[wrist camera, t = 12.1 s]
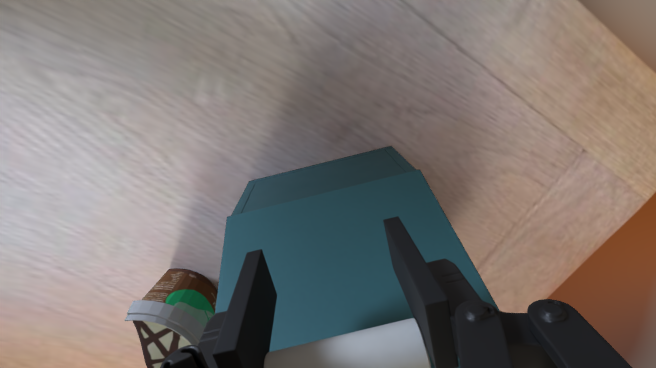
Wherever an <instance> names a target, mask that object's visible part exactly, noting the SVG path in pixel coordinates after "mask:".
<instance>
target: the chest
mask: <svg viewBox="0 0 656 368" xmlns="http://www.w3.org/2000/svg"><path fill="white" fill-rule="evenodd" d="M415 170H416V169H415V168H414V167H413V166H412V165H411V164H410V163H409V162H407V161H406V160H405V159H404V158H403V157H402V156H401V155H400V154H399V153H398V152H397V151H396V150H395V149H394V148H393V147H392V146H389V147H385V148H381V149H377V150H373V151H369V152H365V153H361V154H357V155H353V156H349V157H345V158H341V159H337V160H333V161H329V162H325V163H321V164H317V165H313V166H309V167H305V168H301V169H297V170H293V171H289V172H285V173H281V174H277V175H273V176H269V177H265V178H261V179H257V180H253V181H249V183H248V185H247V187H246V188H245V190H244V192H243V194H242V196H241V198H240V200H239V202H238V204H237V206H236V208H235V209H234V211H233V213H232V215H231V216H233V215H237V214H241V213H245V212H249V211H253V210H257V209H261V208H265V207H269V206H273V205H277V204H282V203H286V202H290V201H294V200H298V199H302V198H306V197H310V196H314V195H318V194H322V193H326V192H330V191H334V190H338V189H342V188H346V187H350V186H354V185H358V184H362V183H367V182H371V181H375V180H379V179H383V178H387V177H391V176H395V175H399V174H403V173H407V172H411V171H415Z"/></svg>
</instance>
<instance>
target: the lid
mask: <svg viewBox="0 0 656 368" xmlns="http://www.w3.org/2000/svg"><path fill="white" fill-rule="evenodd" d="M397 216H399V218H400V220H401V221H402V223H403V225H404V226H405V228H406V230H407V231H408V233H409V235H410V236H411V238H412V240H413V241H414V243H415V245H416V246H417V248H418V250H419V251H420V253H421V255H422V256H423V258H424V260H425V261H426V263H427V262H432V261H436V260H440V259H444V258H445V259H447V260H449V261H451V262H453V263H454V264H456V266H457V267H458V269H459V270H460V271H461V273H462V274H463V275H464V277H465V279H467V281H468V282H469V283H470V285H471V286H472V287H473V289H474V290H475V291H476V293H477V294H478V295H479V297H480V298H481V299H482V301H485V302H488V303H490V304H492V305H493V306H494V307H496V308H497V310H498V311H499V309H498V307H497V305H496V304H495V302H494V300H493V298H492V296H491V295H490V293H489V291H488V289H487V288H486V286H485V284H484V282H483V281H482V279H481V277H480V275H479V274H478V272H477V270H476V268H475V266H474V265H473V263H472V261H471V259H470V258H469V256H468V254H467V252H466V251H465V249H464V247H463V245H462V243H461V242H460V240H459V238H458V236H457V235H456V233H455V231H454V229H453V228H452V226H451V224H450V222H449V220H448V219H447V217H446V215H445V213H444V212H443V210H442V208H441V206H440V205H439V203H438V201H437V199H436V198H435V196H434V194H433V192H432V190H431V189H430V187H429V185H428V183H427V182H426V180H425V178H424V176H423V175H422V173H421V171H420V170H415V171H411V172H407V173H403V174H399V175H395V176H391V177H387V178H383V179H379V180H375V181H371V182H367V183H362V184H358V185H354V186H350V187H346V188H342V189H338V190H334V191H330V192H326V193H322V194H318V195H314V196H310V197H306V198H302V199H298V200H294V201H290V202H286V203H282V204H277V205H273V206H269V207H265V208H261V209H257V210H253V211H249V212H245V213H241V214H237V215H233V216H229V217H227V222H226V230H225V238H224V246H223V254H222V262H221V270H220V278H219V286H218V294H217V302H216V310H215V313H219V312H224V311H227V309H228V306H229V303H230V301H231V298H232V295H233V292H234V289H235V286H236V283H237V280H238V277H239V274H240V271H241V268H242V265H243V262H244V259H245V256H246V254H247V252H251V251H255V250H259V249H262V251H263V254H264V257H265V260H266V263H267V266H268V269H269V272H270V275H271V278H272V281H273V284H274V287H275V290H276V293H277V301H276V308H275V315H274V322H273V329H272V336H271V343H270V350H269V352H268V353H267V354H266V356H265V359H264V368H435V367H434V364H433V362H432V359H431V357H430V355H429V352H428V350H427V347H426V344H425V341H424V338H423V335H422V332H421V329H420V327H419V324H418V322H417V321H416V319H415V318H414V317H413V314H412V312H411V309H410V307H409V305H408V302H407V300H406V298H405V295H404V293H403V290H402V288H401V286H400V283H399V281H398V278H397V276H396V274H395V271H394V269H393V265H392V261H391V256H390V251H389V246H388V241H387V237H386V232H385V227H384V222H383V220H384V219H389V218H393V217H397ZM457 357H458V356H457ZM458 363H459V367H457V368H460V360H459V358H458Z"/></svg>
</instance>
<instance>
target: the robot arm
mask: <svg viewBox="0 0 656 368" xmlns="http://www.w3.org/2000/svg"><path fill="white" fill-rule="evenodd" d="M383 222H384V227H385V232H386V237H387V241H388V246H389V251H390V256H391V261H392V265H393V269H394V271H395V274H396V276H397V278H398V281H399V283H400V286H401V288H402V290H403V293H404V295H405V298H406V300H407V302H408V305H409V307H410V309H411V312H412V314H413V317H414V318H415V319H416V321H417V322H418V324H419V327H420V329H421V332H422V335H423V338H424V341H425V344H426V347H427V350H428V352H429V355H430V357H431V359H432V362H433V364H434V367H435V368H457V367H459V363H458V358H459V360H460V368H632V367H631V366H630V365H629V364H628V363H627V362H626V361H625V360H624V359H623V358H622V357H621V356H620V354H618V353H617V351H615V350H614V348H612V346H611V345H610V344H609V343H608V342H607V341H606V340H605V339H604V338H603V337H602V336H601V335H600V334H599V333H598V332H597V331H596V330H595V329H594V328H593V327H592V326H591V325H590V324H589V323H588V322H587V321H586V320H585V319H584V318H583V317H582V316H581V315H580V314H579V313H578V311H576V310H575V309H574V308H573V307H571V306H570V305H569V304H566V303H564V302H561V301H557V300H551V299H545V300H538V301H535V302H533V303H532V304H531V305H529V306H528V311H527V313H505V312H501V311H498V310H497V308H496V307H494V306H493V305H492V304H490V303H488V302H485V301H482V299H481V298H480V297H479V295H478V294H477V293H476V291H475V290H474V289H473V287H472V286H471V285H470V283H469V282H468V281H467V279H465V277H464V275H463V274H462V273H461V271H460V270H459V269H458V267H457V266H456V264H454V263H453V262H451V261H449V260H447V259H445V258H444V259H440V260H436V261H432V262H427V263H426V261H425V260H424V258H423V256H422V255H421V253H420V251H419V250H418V248H417V246H416V245H415V243H414V241H413V240H412V238H411V236H410V235H409V233H408V231H407V230H406V228H405V226H404V225H403V223H402V221H401V220H400V218H399V216H397V217H393V218H389V219H384V220H383ZM276 301H277V293H276V290H275V287H274V284H273V281H272V278H271V275H270V272H269V269H268V266H267V263H266V260H265V257H264V254H263V251H262V249H259V250H255V251H251V252H247V254H246V256H245V259H244V262H243V265H242V268H241V271H240V274H239V277H238V280H237V283H236V286H235V289H234V292H233V295H232V298H231V301H230V303H229V306H228V309H227V311H224V312H219V313H215V314H214V315H213V316H212V317H211V319H210V320H209V321H208V322H207V323H206V326H205V328H204V331H203V335H202V336H201V338H200V343H198V346H196V345H187V346H184V347H181V348H179V349H177V350H176V351H174V352H172V353H171V354H170V355H169V356H168V357H166V359H165V360H164V361H163V362H162V364H161V366H160V368H264V359H265V356H266V354H267V353H268V352H269V350H270V343H271V336H272V329H273V322H274V315H275V308H276ZM457 356H458V357H457Z"/></svg>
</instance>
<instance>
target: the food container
mask: <svg viewBox="0 0 656 368" xmlns="http://www.w3.org/2000/svg"><path fill="white" fill-rule="evenodd" d="M217 294H218V291H217V289H216V287H215V286H214V285H213V284H212V283H211V282H210V281H209V280H208V279H207V278H205V277H204V276H202V275H200V274H198V273H196V272H193V271H190V270H186V269H169V270H168V271H167V272H166V273H165V274H164V275H163V277H162V278H161V279H160V280H159V281H158V282H157V283H156V284H155V285H154V287H153V288H152V289H151V290H150V291H149V292H148V293H147V294H146V296H145V297H144V298H143V299H142V300H140V301H133V303H132V305H131V307H130V308H129V310H128V312H127V314H128V316H127V317H126V319H125V321H132V320H133V323H134V325H135V327H136V329H137V332H138V335H139V338H140V342H141V346H142V350H143V355H144V359H145V363H146V366H147V368H160V366H161V364H162V362H163V361H164V360H165V359H166V357H168V356H169V355H170V354H171V353H172V352H174V351H176V350H177V349H179V348H181V347H184V346H187V345H196V346H198V343H200V338H201V336H202V335H203V331H204V328H205V326H206V323H207V322H208V321H209V320H210V319H211V317H212V316H213V315H214V314H215V310H216V302H217Z"/></svg>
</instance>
